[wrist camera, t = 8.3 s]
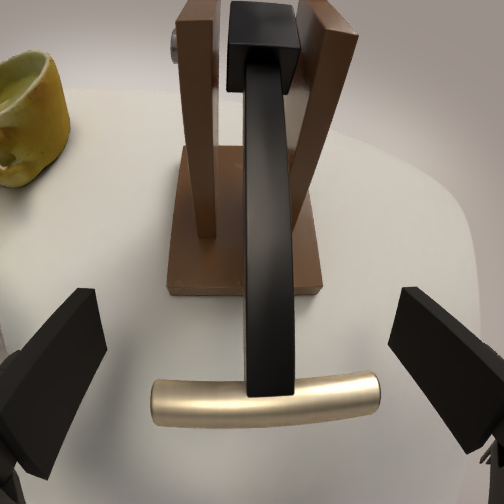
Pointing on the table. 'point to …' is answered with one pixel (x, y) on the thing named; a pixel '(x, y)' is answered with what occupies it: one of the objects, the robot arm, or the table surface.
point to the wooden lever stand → (231, 157)
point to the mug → (30, 117)
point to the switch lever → (264, 257)
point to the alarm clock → (2, 348)
